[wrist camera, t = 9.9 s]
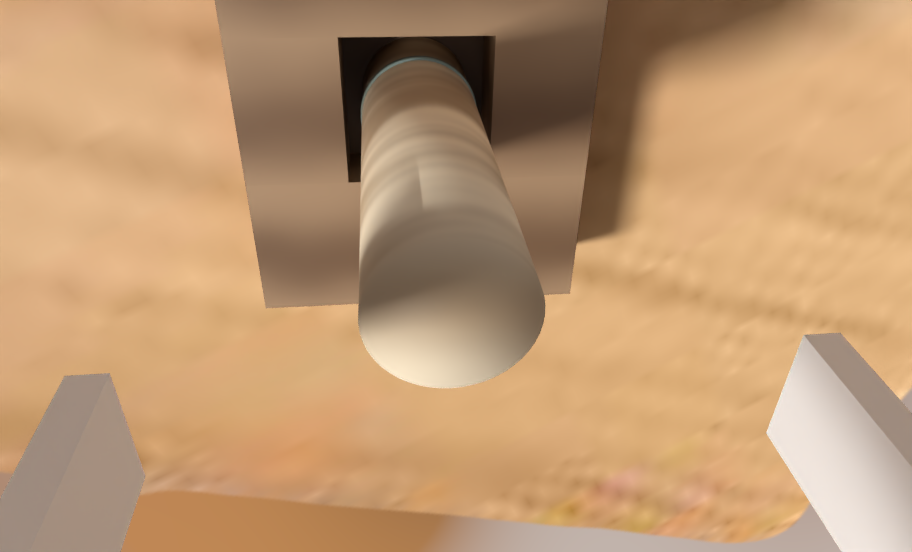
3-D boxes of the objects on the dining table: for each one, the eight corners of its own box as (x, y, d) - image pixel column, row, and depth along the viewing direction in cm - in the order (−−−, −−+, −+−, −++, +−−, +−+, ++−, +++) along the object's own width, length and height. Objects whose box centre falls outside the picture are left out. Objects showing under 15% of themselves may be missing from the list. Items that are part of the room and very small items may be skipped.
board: (211, -168, 25) (187, -164, 21) (595, -161, 26) (628, -157, 23) (275, 260, 35) (266, 308, 31) (551, 249, 36) (569, 293, 33)
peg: (357, 35, 28) (349, 239, 15) (468, 34, 28) (556, 231, 15) (364, 140, 31) (361, 395, 17) (466, 137, 31) (539, 384, 18)
